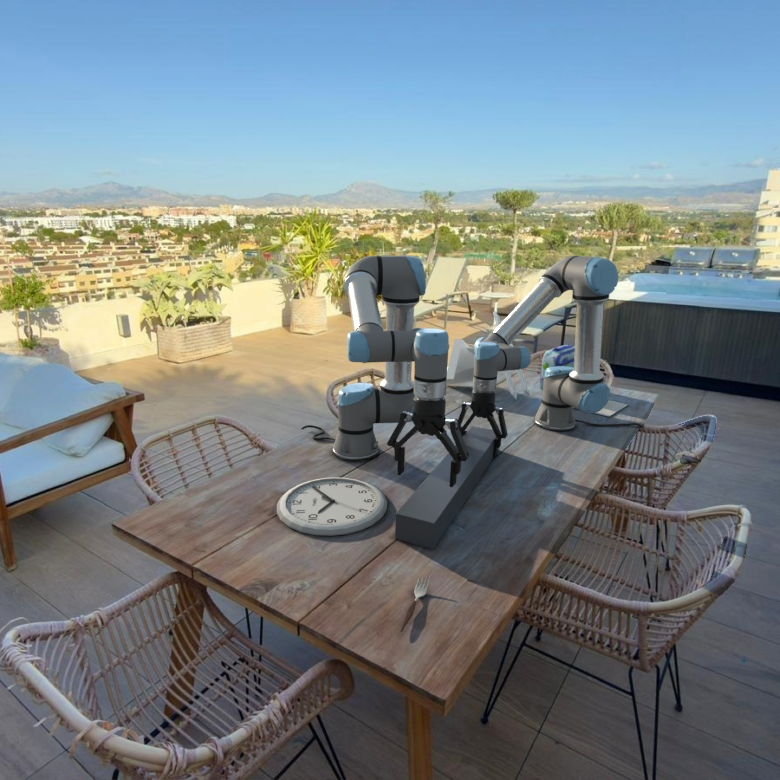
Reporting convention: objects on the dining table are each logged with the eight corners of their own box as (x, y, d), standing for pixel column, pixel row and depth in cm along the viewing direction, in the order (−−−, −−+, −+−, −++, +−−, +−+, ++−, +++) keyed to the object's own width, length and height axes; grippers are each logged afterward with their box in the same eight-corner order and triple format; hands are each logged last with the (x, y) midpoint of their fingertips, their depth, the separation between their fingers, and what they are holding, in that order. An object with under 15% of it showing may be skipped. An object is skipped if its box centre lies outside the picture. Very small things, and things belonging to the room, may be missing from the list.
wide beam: (470, 444, 184) (471, 426, 182) (498, 449, 180) (500, 430, 178) (394, 538, 128) (395, 513, 126) (433, 549, 124) (434, 523, 122)
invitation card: (608, 416, 214) (573, 407, 224) (608, 416, 214) (573, 408, 224) (628, 404, 229) (594, 396, 238) (628, 405, 229) (594, 397, 238)
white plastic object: (461, 429, 252) (437, 405, 227) (444, 352, 274) (420, 323, 250) (535, 404, 240) (518, 377, 215) (510, 326, 262) (492, 293, 237)
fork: (394, 632, 98) (394, 623, 98) (419, 581, 113) (419, 573, 112) (407, 636, 97) (407, 627, 97) (430, 584, 112) (431, 576, 111)
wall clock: (392, 527, 129) (268, 531, 127) (391, 533, 130) (269, 537, 127) (383, 473, 158) (282, 475, 155) (383, 478, 158) (282, 480, 156)
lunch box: (556, 397, 237) (562, 352, 231) (535, 392, 244) (540, 348, 238) (583, 386, 255) (589, 344, 248) (562, 381, 262) (567, 340, 256)
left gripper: (374, 392, 123) (373, 474, 129) (477, 409, 113) (471, 496, 119) (387, 384, 129) (386, 462, 136) (486, 399, 120) (480, 483, 126)
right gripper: (447, 388, 171) (443, 450, 178) (516, 398, 162) (510, 463, 169) (454, 382, 178) (450, 442, 184) (521, 391, 169) (515, 455, 175)
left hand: (426, 479), depth 128 cm, fingers open, 13 cm apart
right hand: (479, 452), depth 176 cm, fingers closed on wide beam, 10 cm apart
